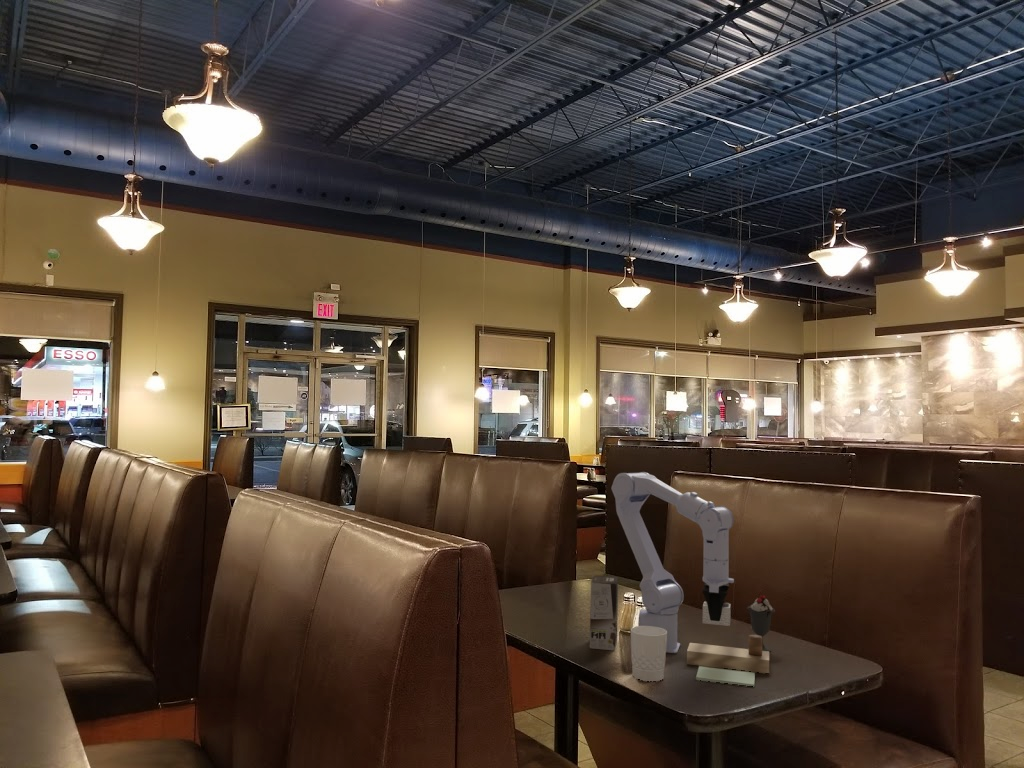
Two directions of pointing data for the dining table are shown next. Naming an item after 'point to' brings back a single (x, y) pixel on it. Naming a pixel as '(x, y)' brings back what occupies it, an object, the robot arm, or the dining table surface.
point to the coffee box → (604, 613)
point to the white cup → (648, 652)
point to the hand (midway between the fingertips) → (715, 618)
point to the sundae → (761, 617)
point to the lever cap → (724, 615)
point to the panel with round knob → (731, 656)
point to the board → (725, 676)
